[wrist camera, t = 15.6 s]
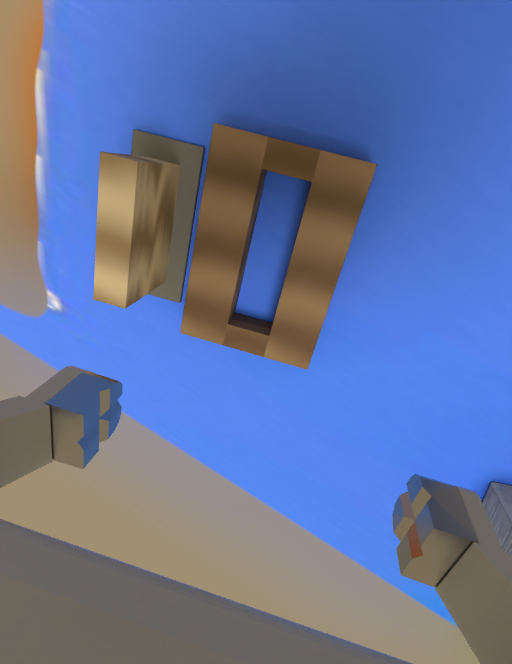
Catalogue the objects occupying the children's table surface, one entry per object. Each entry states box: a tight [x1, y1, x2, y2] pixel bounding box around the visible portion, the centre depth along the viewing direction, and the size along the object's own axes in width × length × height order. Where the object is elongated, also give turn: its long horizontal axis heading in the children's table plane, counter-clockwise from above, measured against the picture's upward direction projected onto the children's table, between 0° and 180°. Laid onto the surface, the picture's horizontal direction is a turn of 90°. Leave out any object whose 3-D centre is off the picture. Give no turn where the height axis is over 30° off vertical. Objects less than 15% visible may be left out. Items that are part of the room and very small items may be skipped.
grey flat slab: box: [131, 129, 205, 303], centre depth 38 cm, size 16×7×1 cm, turn 167°
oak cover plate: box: [93, 152, 181, 308], centre depth 34 cm, size 12×3×9 cm, turn 167°
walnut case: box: [180, 123, 377, 369], centre depth 36 cm, size 20×14×4 cm
